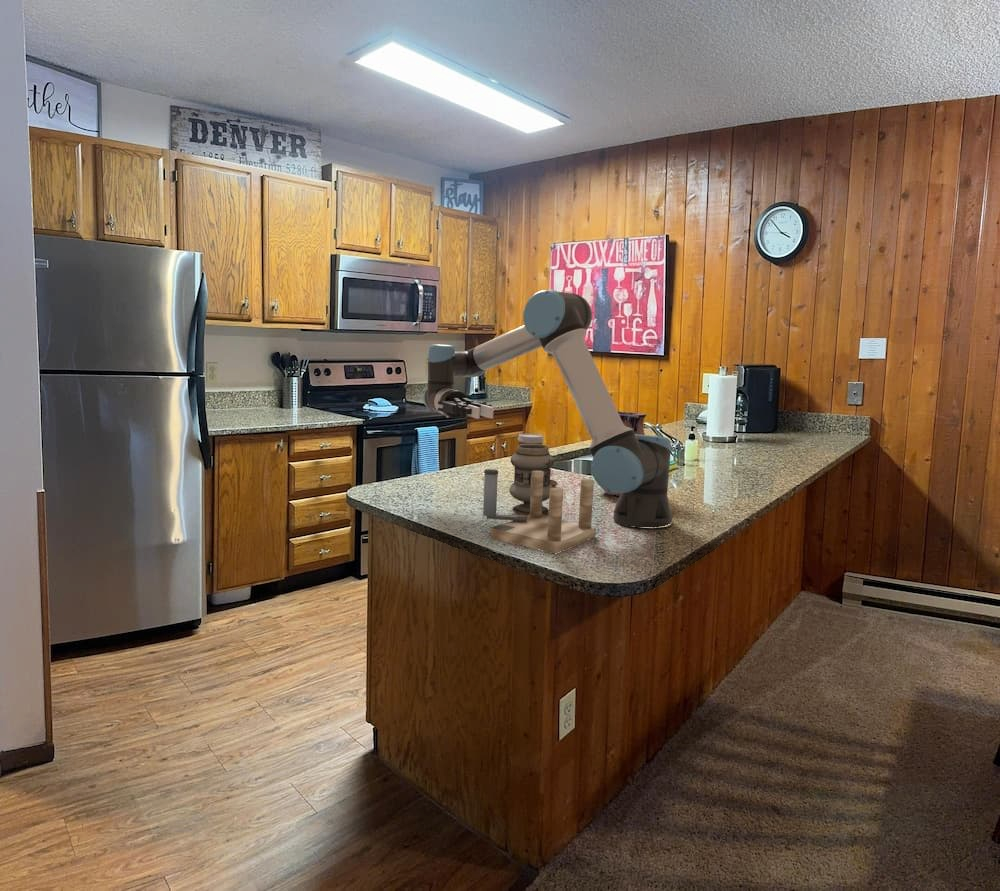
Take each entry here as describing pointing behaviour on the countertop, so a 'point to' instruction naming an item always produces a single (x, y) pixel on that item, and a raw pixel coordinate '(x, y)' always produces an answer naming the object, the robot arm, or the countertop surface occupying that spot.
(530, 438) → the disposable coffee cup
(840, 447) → the countertop surface
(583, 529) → the ash stool
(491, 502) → the folding leg
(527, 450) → the apothecary jar
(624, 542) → the countertop surface
